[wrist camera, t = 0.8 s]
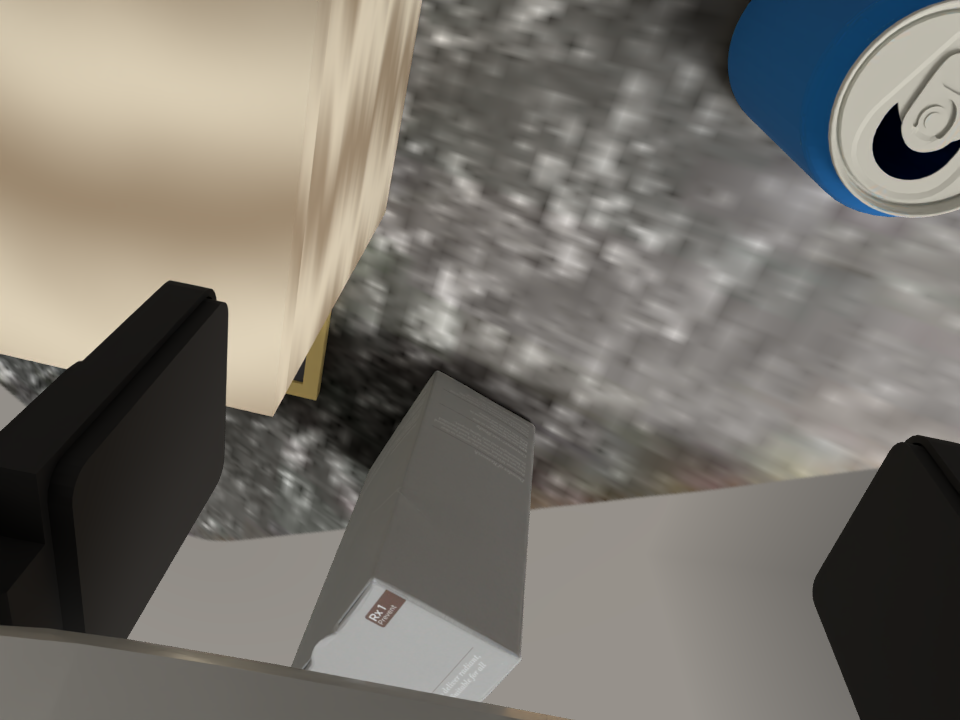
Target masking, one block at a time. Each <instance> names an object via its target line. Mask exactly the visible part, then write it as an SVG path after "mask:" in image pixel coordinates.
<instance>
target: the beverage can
mask: <svg viewBox="0 0 960 720" xmlns="http://www.w3.org/2000/svg"><path fill="white" fill-rule="evenodd" d="M728 74H729V81H730V85H731V88H732V92H733V94H734V96H735V98H736V101H737V102H738V104H739V105H740V107H741V108H742V110H743V111H744V112H745V113H746V114H747V115H748V117H749V118H750V119H751V120H752V121H753V122H754V123H756V124H757V125H758V126H759V127H760V128H761V129H762V130H763V131H764V132H765V133H766V134H767V135H768V136H769V137H770V138H771V139H772V140H773V141H774V142H775V143H776V144H777V145H778V146H779V147H780V148H781V149H782V150H783V151H784V152H785V153H786V154H787V155H788V156H789V157H790V158H791V159H792V160H793V161H794V162H796V163H797V164H798V165H799V166H800V167H801V168H802V169H803V170H804V171H805V172H806V173H807V174H808V175H809V176H810V177H811V178H812V179H813V180H814V181H815V182H816V183H817V184H818V185H819V186H820V187H821V188H822V189H823V190H824V191H825V192H827V193H828V194H829V195H830V196H831V197H833V198H834V199H835V200H837V201H838V202H840V203H842V204H843V205H845V206H847V207H849V208H852V209H854V210H857V211H859V212H863V213H867V214H871V215H877V216H886V217H928V216H936V215H940V214H944V213H949V212H952V211H955V210H958V209H960V0H751V2H750V3H749V4H748V6H747V7H746V9H745V10H744V12H743V13H742V15H741V17H740V19H739V21H738V23H737V25H736V28H735V30H734V33H733V36H732V39H731V44H730V48H729V56H728Z"/></svg>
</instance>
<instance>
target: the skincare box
mask: <svg viewBox="0 0 960 720" xmlns="http://www.w3.org/2000/svg"><path fill="white" fill-rule="evenodd" d="M534 440H535V427H534V425H533V424H532V423H530V422H528V421H526V420H524V419H523V418H521V417H519V416H518V415H516V414H514V413H512V412H510V411H509V410H507V409H505V408H503V407H501V406H500V405H498V404H496V403H494V402H493V401H491V400H489V399H488V398H486V397H484V396H482V395H481V394H479V393H477V392H476V391H474V390H472V389H470V388H469V387H467V386H465V385H463V384H462V383H460V382H458V381H456V380H455V379H453V378H451V377H449V376H448V375H446V374H444V373H442V372H440V371H435V372H434V374H433V375H432V377H431V378H430V379H429V381H428V382H427V384H426V385H425V387H424V388H423V390H422V391H421V393H420V394H419V396H418V397H417V399H416V400H415V402H414V403H413V405H412V406H411V408H410V409H409V411H408V412H407V414H406V415H405V417H404V418H403V420H402V421H401V423H400V424H399V426H398V427H397V429H396V430H395V432H394V433H393V435H392V436H391V438H390V439H389V441H388V442H387V444H386V445H385V447H384V448H383V450H382V452H381V453H380V455H379V456H378V458H377V459H376V461H375V462H374V464H373V465H372V467H371V469H370V470H369V472H368V475H367V477H366V480H365V482H364V485H363V488H362V490H361V493H360V495H359V498H358V500H357V503H356V505H355V508H354V510H353V513H352V515H351V518H350V520H349V523H348V525H347V528H346V531H345V533H344V536H343V538H342V541H341V543H340V545H339V548H338V550H337V553H336V555H335V558H334V561H333V563H332V565H331V568H330V571H329V573H328V576H327V578H326V581H325V583H324V586H323V588H322V590H321V593H320V595H319V598H318V600H317V603H316V605H315V608H314V610H313V613H312V615H311V619H310V620H309V623H308V626H307V628H306V631H305V633H304V636H303V638H302V641H301V643H300V646H299V649H298V651H297V653H296V656H295V658H294V661H293V664H292V666H291V667H293V668H299V669H304V670H310V671H315V672H320V673H326V674H331V675H337V676H342V677H347V678H353V679H358V680H363V681H369V682H374V683H380V684H385V685H390V686H396V687H401V688H407V689H412V690H417V691H423V692H428V693H434V694H439V695H444V696H450V697H455V698H461V699H466V700H471V701H477V702H482V701H483V700H484V699H485V698H486V697H487V696H488V695H489V694H490V692H491V691H492V690H493V689H494V688H495V687H496V686H497V685H498V684H499V683H500V682H501V681H502V680H503V679H504V678H505V677H506V676H507V675H508V674H509V673H510V672H511V671H512V670H513V668H514V667H515V666H516V665H517V664H518V663H519V662H520V661H522V658H521V644H522V626H523V608H524V590H525V578H526V562H527V546H528V530H529V516H530V499H531V485H532V470H533V453H534Z"/></svg>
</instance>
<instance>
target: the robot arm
mask: <svg viewBox="0 0 960 720" xmlns="http://www.w3.org/2000/svg"><path fill="white" fill-rule="evenodd" d="M227 349H228V306H227V304H226V302H222V301H217V299H216V294H215V292H214V290H213V289H211V288H206V287H201V286H196V285H192V284H187V283H182V282H177V281H172V280H169V281H167V282H166V283H164V284H163V285H162V286H161V287H160V288H159V289H158V290H157V291H156V292H155V293H154V294H153V295H152V296H151V297H150V298H148V299H147V300H146V301H145V302H144V303H143V304H142V305H141V306H140V307H139V308H138V309H137V310H136V311H135V312H134V313H133V314H132V315H130V316H129V317H128V318H127V319H126V320H125V321H124V322H123V323H122V324H121V325H120V326H119V327H118V328H117V329H116V330H115V331H113V332H112V333H111V334H110V335H109V336H108V337H107V338H106V339H105V340H104V341H103V342H102V343H101V344H100V345H99V346H98V347H97V348H95V349H94V350H93V351H92V352H91V353H90V354H89V355H88V356H87V357H86V358H85V359H84V360H83V361H78V362H76V363H75V364H73V365H72V366H70V367H69V368H68V369H67V370H66V371H65V372H64V373H62V374H61V375H60V376H59V377H58V378H57V379H56V380H55V381H54V382H53V383H52V384H51V385H50V386H48V387H47V388H46V389H45V390H44V391H43V392H42V393H41V394H40V395H39V396H38V397H37V398H36V399H35V400H33V401H32V402H31V403H30V404H29V405H28V406H27V407H26V408H25V409H24V410H23V411H22V412H21V413H19V414H18V415H17V416H16V417H15V418H14V419H13V420H12V421H11V422H10V423H9V424H8V425H7V426H6V427H4V428H3V429H2V430H1V431H0V720H571V719H567V718H561V717H556V716H551V715H546V714H540V713H535V712H529V711H525V710H519V709H514V708H509V707H503V706H498V705H493V704H487V703H482V702H477V701H471V700H466V699H461V698H455V697H450V696H444V695H439V694H434V693H428V692H423V691H417V690H412V689H407V688H401V687H396V686H390V685H385V684H380V683H374V682H369V681H363V680H358V679H353V678H347V677H342V676H337V675H331V674H326V673H320V672H315V671H310V670H304V669H299V668H293V667H288V666H282V665H277V664H271V663H266V662H260V661H254V660H248V659H242V658H236V657H230V656H224V655H219V654H213V653H207V652H200V651H195V650H189V649H183V648H177V647H172V646H165V645H159V644H153V643H147V642H141V641H135V640H129V639H127V637H128V636H129V634H130V632H131V631H132V629H133V627H134V625H135V624H136V622H137V620H138V619H139V617H140V615H141V614H142V612H143V610H144V608H145V607H146V605H147V603H148V601H149V600H150V598H151V596H152V595H153V593H154V591H155V590H156V588H157V586H158V584H159V583H160V581H161V579H162V578H163V576H164V574H165V572H166V571H167V569H168V567H169V566H170V564H171V562H172V561H173V559H174V557H175V555H176V554H177V552H178V550H179V548H180V547H181V545H182V543H183V542H184V540H185V538H186V537H187V535H188V533H189V531H190V530H191V528H192V526H193V525H194V523H195V521H196V520H197V518H198V516H199V514H200V513H201V511H202V509H203V508H204V506H205V504H206V502H207V501H208V499H209V497H210V496H211V494H212V492H213V490H214V489H215V487H216V485H217V483H218V481H219V479H220V476H221V473H222V469H223V464H224V452H225V418H226V384H227ZM813 601H814V604H815V607H816V609H817V612H818V614H819V617H820V619H821V622H822V624H823V627H824V629H825V632H826V634H827V637H828V639H829V642H830V644H831V647H832V649H833V652H834V655H835V657H836V660H837V662H838V665H839V667H840V669H841V672H842V675H843V677H844V680H845V682H846V685H847V687H848V690H849V692H850V695H851V697H852V700H853V702H854V705H855V707H856V710H857V712H858V715H859V717H860V720H960V444H958V443H954V442H949V441H945V440H940V439H935V438H930V437H925V436H920V435H916V436H912V437H910V438H909V439H907V440H906V441H905V443H904V442H900V443H897V444H896V445H894V446H893V447H892V449H891V450H890V451H889V453H888V455H887V456H886V458H885V460H884V461H883V463H882V465H881V467H880V468H879V470H878V472H877V473H876V475H875V477H874V478H873V480H872V482H871V484H870V485H869V487H868V489H867V490H866V492H865V494H864V495H863V497H862V499H861V501H860V502H859V504H858V506H857V507H856V509H855V511H854V512H853V514H852V516H851V518H850V519H849V521H848V523H847V524H846V526H845V528H844V530H843V531H842V533H841V535H840V536H839V538H838V540H837V541H836V543H835V545H834V546H833V548H832V550H831V552H830V553H829V555H828V557H827V558H826V560H825V562H824V563H823V565H822V567H821V569H820V570H819V572H818V574H817V575H816V578H815V580H814V584H813Z"/></svg>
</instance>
